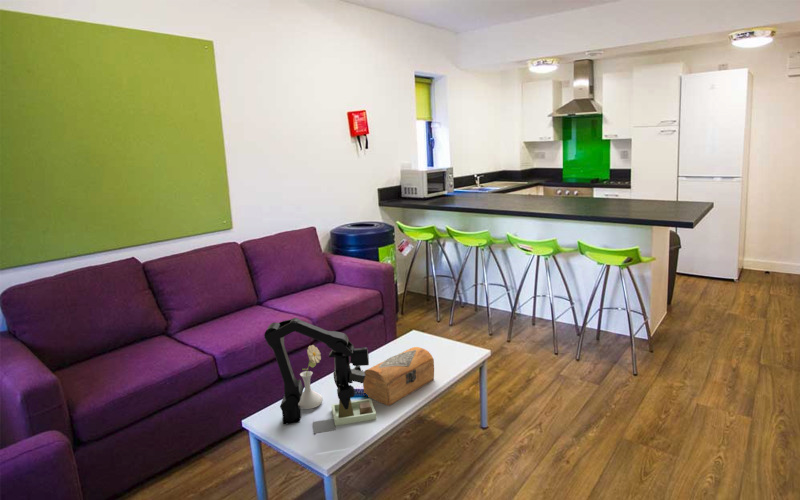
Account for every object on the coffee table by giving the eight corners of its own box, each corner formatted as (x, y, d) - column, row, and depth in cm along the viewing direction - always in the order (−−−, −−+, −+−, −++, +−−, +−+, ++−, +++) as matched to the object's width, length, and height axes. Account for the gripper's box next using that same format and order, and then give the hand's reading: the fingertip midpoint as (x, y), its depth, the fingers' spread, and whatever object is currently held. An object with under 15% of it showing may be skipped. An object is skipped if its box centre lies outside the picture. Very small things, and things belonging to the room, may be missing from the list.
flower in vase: (307, 415, 200) (301, 356, 194) (289, 406, 207) (283, 349, 202) (331, 401, 209) (327, 345, 204) (314, 393, 217) (309, 339, 211)
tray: (334, 426, 191) (334, 420, 190) (331, 410, 202) (331, 404, 202) (376, 419, 194) (376, 413, 194) (371, 404, 206) (370, 398, 205)
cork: (336, 413, 199) (334, 387, 197) (351, 410, 201) (349, 384, 199) (340, 421, 194) (338, 394, 191) (355, 417, 196) (353, 391, 193)
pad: (314, 434, 186) (314, 433, 186) (312, 422, 194) (312, 421, 194) (335, 430, 188) (335, 429, 188) (333, 419, 196) (333, 418, 196)
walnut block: (361, 417, 195) (360, 408, 195) (359, 412, 199) (359, 403, 198) (371, 416, 196) (370, 406, 195) (369, 410, 200) (369, 401, 199)
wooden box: (390, 408, 202) (388, 376, 199) (362, 395, 213) (360, 365, 210) (437, 381, 223) (436, 351, 220) (410, 370, 234) (408, 342, 231)
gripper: (367, 373, 186) (369, 412, 189) (359, 353, 204) (362, 389, 207) (336, 378, 184) (339, 416, 187) (332, 357, 201) (334, 393, 205)
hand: (345, 403), depth 196 cm, fingers open, 9 cm apart
